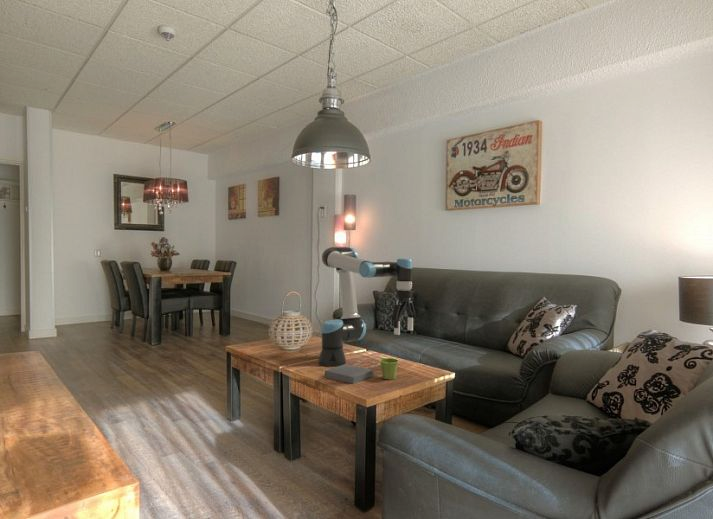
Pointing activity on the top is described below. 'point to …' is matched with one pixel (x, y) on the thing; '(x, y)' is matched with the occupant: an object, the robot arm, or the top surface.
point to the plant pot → (389, 368)
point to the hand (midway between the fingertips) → (403, 332)
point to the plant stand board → (349, 373)
